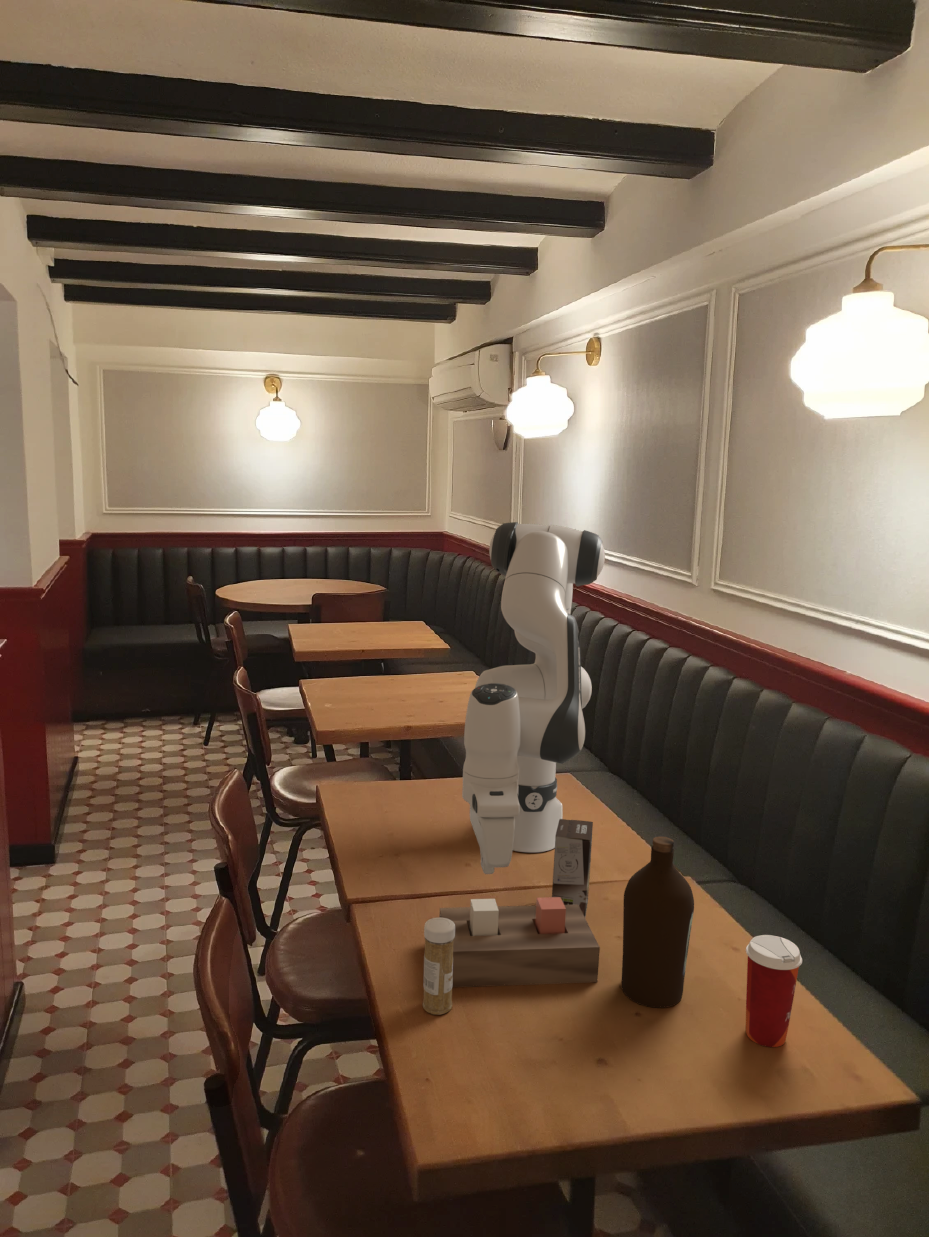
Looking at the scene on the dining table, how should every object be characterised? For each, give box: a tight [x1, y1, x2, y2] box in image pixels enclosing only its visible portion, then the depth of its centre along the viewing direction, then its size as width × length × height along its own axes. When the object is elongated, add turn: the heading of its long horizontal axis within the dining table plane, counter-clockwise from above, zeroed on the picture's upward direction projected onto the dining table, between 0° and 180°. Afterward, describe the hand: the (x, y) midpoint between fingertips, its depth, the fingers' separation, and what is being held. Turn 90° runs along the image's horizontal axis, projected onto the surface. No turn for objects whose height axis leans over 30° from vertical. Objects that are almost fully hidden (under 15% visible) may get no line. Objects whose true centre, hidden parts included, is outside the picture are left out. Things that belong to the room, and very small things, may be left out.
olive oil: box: [621, 836, 695, 1009], centre depth 140 cm, size 11×11×25 cm
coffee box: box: [551, 818, 594, 918], centre depth 166 cm, size 9×6×16 cm
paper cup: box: [745, 934, 803, 1048], centre depth 131 cm, size 8×8×14 cm
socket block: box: [439, 904, 601, 988], centre depth 149 cm, size 14×24×6 cm, turn 97°
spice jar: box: [422, 917, 455, 1016], centre depth 135 cm, size 5×5×14 cm
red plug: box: [535, 896, 566, 934], centre depth 149 cm, size 4×4×6 cm
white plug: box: [469, 898, 499, 936], centre depth 148 cm, size 4×4×6 cm
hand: (487, 870), depth 146 cm, fingers closed
